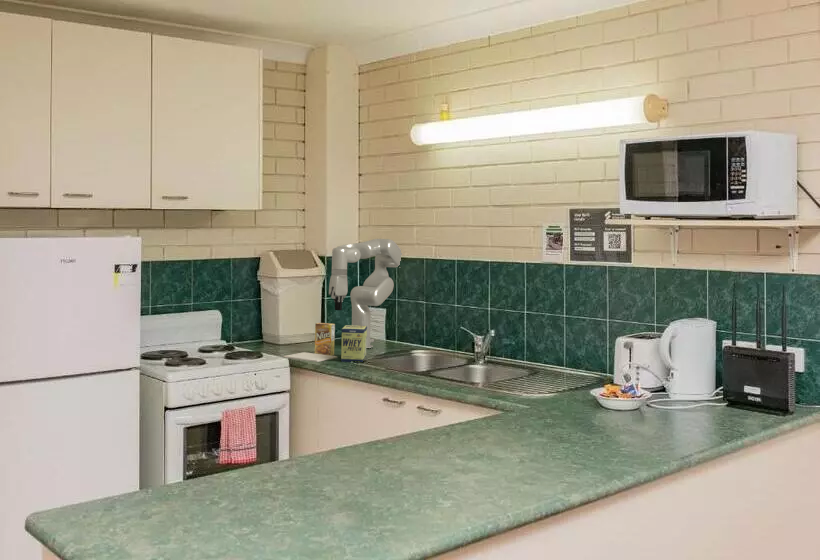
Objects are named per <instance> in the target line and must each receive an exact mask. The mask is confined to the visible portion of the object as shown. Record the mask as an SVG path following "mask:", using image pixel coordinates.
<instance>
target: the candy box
mask: <svg viewBox="0 0 820 560" xmlns="http://www.w3.org/2000/svg"><path fill="white" fill-rule="evenodd" d="M314 327H315V328H314V329H315V330H314V353H315V354H322V355H330V356H335V338H336V337H335V330H336V324H335V323H329V322H328V323H327V322H315V326H314Z"/></svg>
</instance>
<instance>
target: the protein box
mask: <svg viewBox="0 0 820 560" xmlns="http://www.w3.org/2000/svg"><path fill="white" fill-rule="evenodd" d="M366 342H367V326H358V325H352V324H351V325H350V324H346V325H344V326H343V327H342V328H341V344H340V345H341V347H340V348H341V351H340V356H341V357H340V358H341V359H340V361H341V362H342V363H352V362H351V361H360V362H363V360H364V358H365V357H366V358H367V349H366ZM364 361H365V360H364ZM363 363H364V362H363Z"/></svg>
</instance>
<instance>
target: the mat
mask: <svg viewBox="0 0 820 560" xmlns="http://www.w3.org/2000/svg"><path fill="white" fill-rule="evenodd" d="M282 357H283V358H286V359H292V360H293V359H294V360H301V361H308V362H315V363H318V362H319V363H320V362H322V361H324V362H325V361H328V360H334V359H338V356H337V355H332V356H330V355H322V354H315V352H305V351H303V352H298V353H293V354H288V355H283V356H282Z"/></svg>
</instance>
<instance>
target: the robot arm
mask: <svg viewBox="0 0 820 560" xmlns="http://www.w3.org/2000/svg"><path fill="white" fill-rule="evenodd" d="M401 250H402V249H401V248H400V246H399V245H398V244H397V242H395V241H394V240H393V239H389V238H386V239H385V238H375V239H370V240H367V241H362V242H361V241H360V242H357V243H349V244H343V245H339V246H337V247H334V248H333V249H332V253H331V275H330V279H329V284H328V285H329V286H328V295H329V296H330V298H331V299H333V302H334V310H335V311H342V310H343V302H344V299H345V298H346V297H347V294H348V292H349V291H348V290H349V289H348V286H349V285H348V263H353V264H354V263H357V262H359V261H360V260H362V259H365V260H366V259H370V258H373V257H374V270H373V272H371V274H370V275H369V276H368V277H367V278H366V279H365V280H364V282H363V284H362V285H358V286H357V285H356V286H354V287H353V288H352V289H351V291H350V302H351V325H358V326H367V342H366V348H371V347H374V345H373V344H371V343H374V342H375V338H371V318H372V317H371V315H372V314H371V310H370V307H369V306H371V307H378V306H381V305H382V304H383V303H384V302H385V300H387V298H388V297H389V296H391V295H392V292H393V290H394V288H395V287H394V284H395V283H394V280H393V279H392V278H391V277H390V276H389V272H388V270H387V268H396V267H398V266H399V265H400V261H401V255H402V253H401ZM371 349H372V348H371Z"/></svg>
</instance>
